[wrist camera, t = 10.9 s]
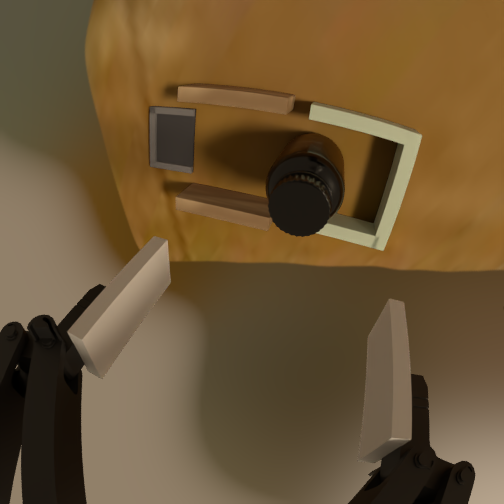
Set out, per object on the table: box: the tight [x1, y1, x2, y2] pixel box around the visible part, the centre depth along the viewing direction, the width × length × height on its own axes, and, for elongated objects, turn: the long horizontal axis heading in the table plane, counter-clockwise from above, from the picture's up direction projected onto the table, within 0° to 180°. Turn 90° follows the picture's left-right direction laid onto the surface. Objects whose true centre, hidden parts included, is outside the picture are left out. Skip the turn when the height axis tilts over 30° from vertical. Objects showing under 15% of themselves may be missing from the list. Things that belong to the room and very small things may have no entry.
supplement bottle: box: [266, 133, 345, 237], centre depth 27 cm, size 7×7×12 cm
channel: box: [176, 84, 295, 231], centre depth 31 cm, size 14×11×4 cm
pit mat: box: [150, 106, 196, 173], centre depth 34 cm, size 8×6×1 cm
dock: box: [309, 102, 422, 251], centre depth 30 cm, size 14×11×3 cm
